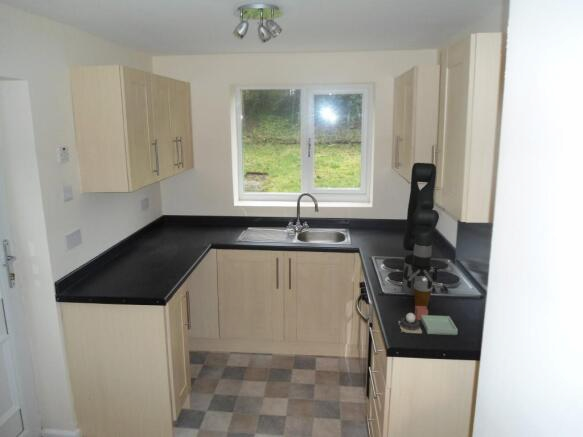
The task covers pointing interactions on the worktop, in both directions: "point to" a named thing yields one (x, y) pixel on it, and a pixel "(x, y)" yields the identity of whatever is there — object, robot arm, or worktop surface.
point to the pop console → (409, 326)
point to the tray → (438, 325)
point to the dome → (410, 318)
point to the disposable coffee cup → (421, 293)
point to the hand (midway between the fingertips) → (418, 288)
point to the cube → (420, 311)
